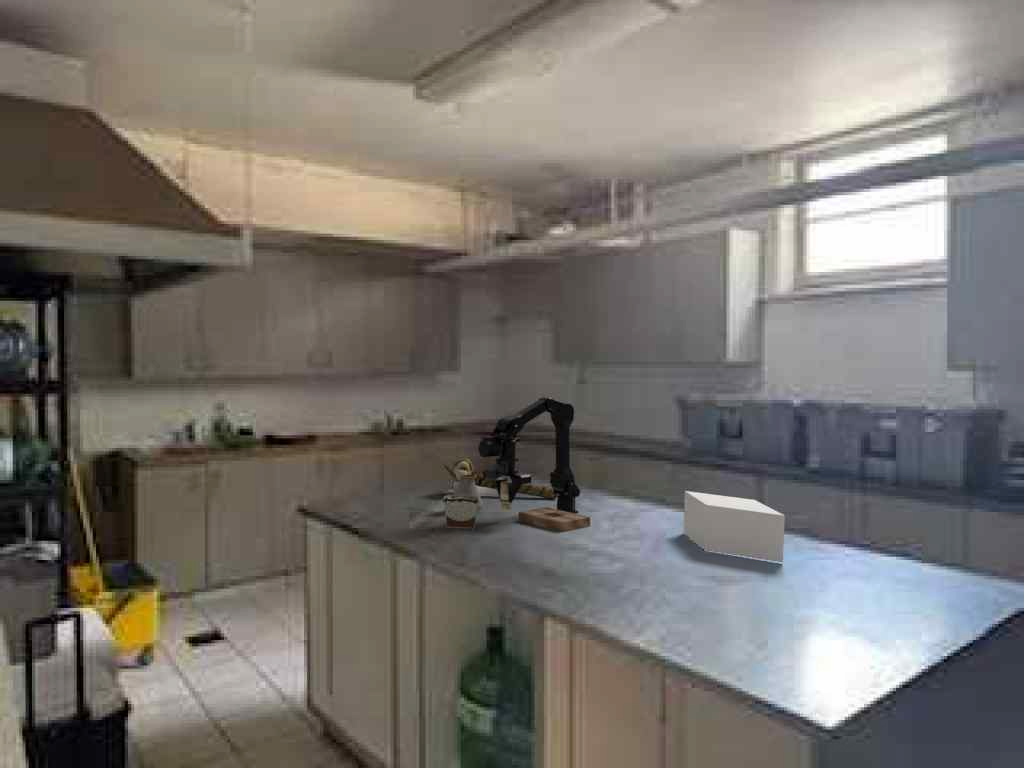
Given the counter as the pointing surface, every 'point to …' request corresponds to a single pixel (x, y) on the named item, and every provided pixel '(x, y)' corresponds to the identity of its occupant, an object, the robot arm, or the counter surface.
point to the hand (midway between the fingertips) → (506, 501)
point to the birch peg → (505, 496)
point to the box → (734, 526)
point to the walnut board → (554, 519)
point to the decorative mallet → (468, 469)
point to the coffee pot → (467, 486)
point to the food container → (460, 510)
